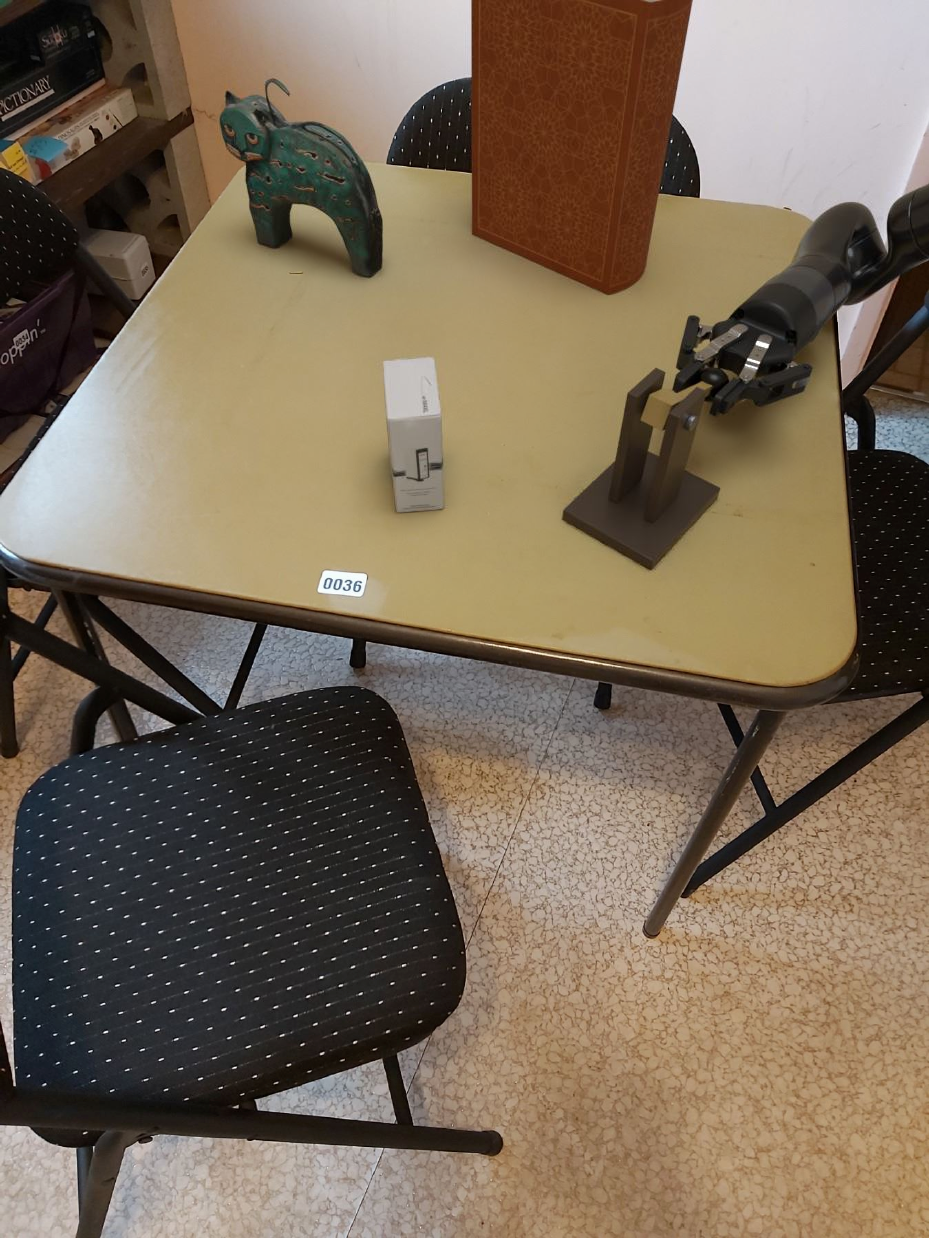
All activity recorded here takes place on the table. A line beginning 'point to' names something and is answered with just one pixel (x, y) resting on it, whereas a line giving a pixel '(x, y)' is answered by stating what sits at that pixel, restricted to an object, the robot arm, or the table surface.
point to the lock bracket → (646, 482)
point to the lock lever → (681, 396)
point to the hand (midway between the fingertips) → (696, 399)
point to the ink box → (414, 433)
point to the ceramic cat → (302, 177)
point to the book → (573, 129)
